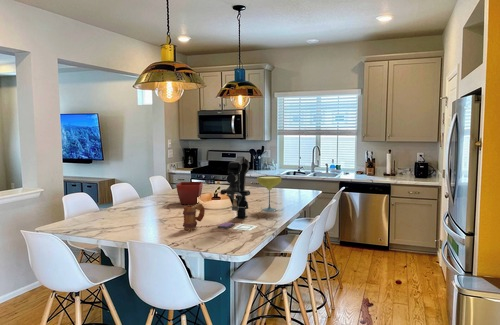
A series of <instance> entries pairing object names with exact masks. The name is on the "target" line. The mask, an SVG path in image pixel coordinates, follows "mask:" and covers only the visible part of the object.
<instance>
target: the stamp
mask: <svg viewBox="0 0 500 325" xmlns="http://www.w3.org/2000/svg"><path fill="white" fill-rule="evenodd" d="M237 210H239V206H237V199H235V198H234V199H233V206H232V205H231V211H234V212H235V211H236V212H237Z"/></svg>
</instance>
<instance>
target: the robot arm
mask: <svg viewBox="0 0 500 325" xmlns="http://www.w3.org/2000/svg"><path fill="white" fill-rule="evenodd" d="M249 168H250V162H249V160H248V159H246V157H245V156H238V155H237V157H236V158H235V160H234V161H230V162H229V163H228V165H227V174H228V175H227V176H226V181H227V183H228V184H229V185H228V187H227V188H224V189H221V190H220V196H221V195H223V196H224V195H225V196H226V197H228V198H229V200H230V203H231V207H232V206H233V199H237V206H239V210H237V211H236V212H237V213H236V214H237V215H236V216H235V217H234V218H235V219H246V218H247V217H248V215H246V210H248V209H249V203H248V199H247V197H248V196H251V191H250V190H246V176H247V173H248V172H249Z"/></svg>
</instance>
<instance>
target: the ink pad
mask: <svg viewBox="0 0 500 325" xmlns="http://www.w3.org/2000/svg"><path fill="white" fill-rule="evenodd" d="M235 226H236V223H234V222H224V223H223V222H222V224H219V225H217V229H222V230H223V229H225V230H229V229H230V228H232V227H235Z"/></svg>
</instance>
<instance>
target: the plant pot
mask: <svg viewBox="0 0 500 325" xmlns="http://www.w3.org/2000/svg"><path fill="white" fill-rule="evenodd" d="M203 184H204V183H203V181H181V182H179V183H177V184H176V185H175V186H176V192H177V196H178V199H179V202H180V205H182V204H197V197H199V196H200V197H201V196H202V192H203V191H202V190H203Z"/></svg>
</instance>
